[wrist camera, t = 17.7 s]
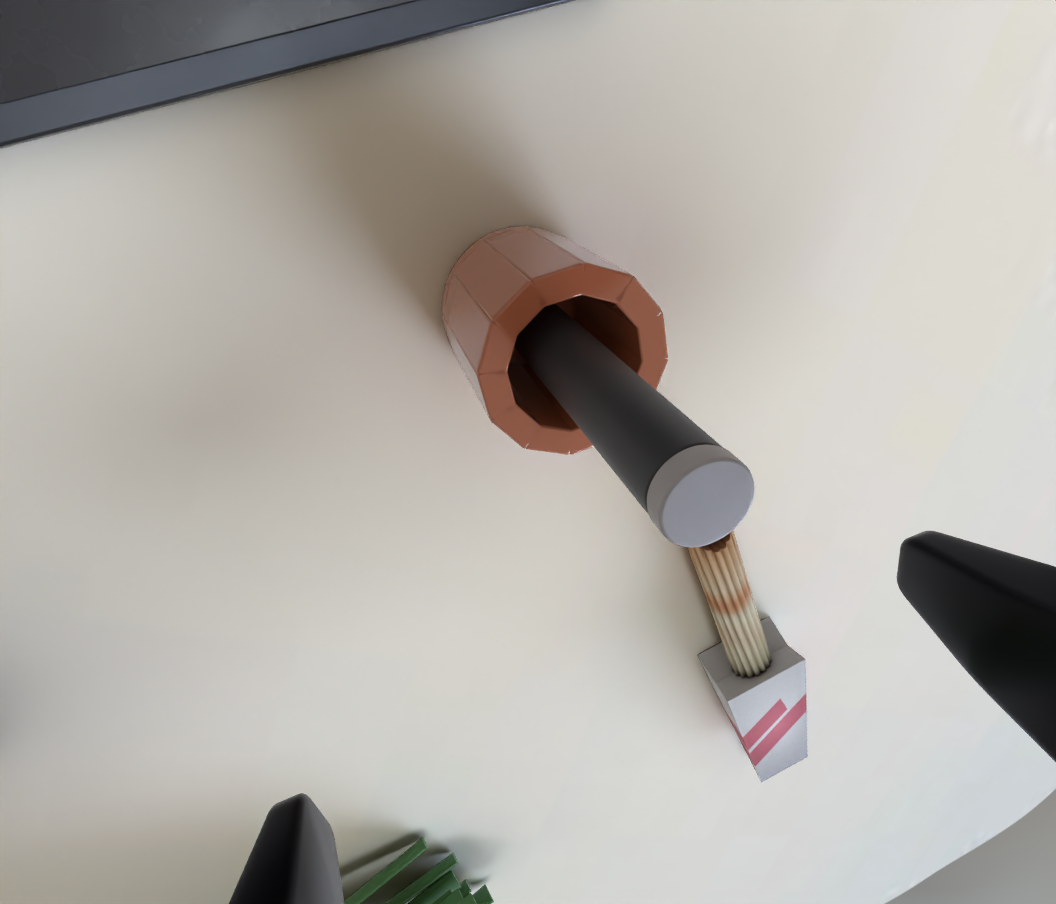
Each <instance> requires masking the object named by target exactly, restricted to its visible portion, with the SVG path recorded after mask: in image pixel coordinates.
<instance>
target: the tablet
mask: <svg viewBox="0 0 1056 904" xmlns="http://www.w3.org/2000/svg"><path fill="white" fill-rule="evenodd" d="M570 1H574V0H0V148H4V147H7V146H11V145H15V144H19V143H23V142H27V141H31V140H35V139H38V138H42V137H46V136H50V135H54V134H58V133H62V132H66V131H70V130H73V129H77V128H81V127H85V126H89V125H93V124H97V123H101V122H104V121H108V120H112V119H116V118H120V117H124V116H128V115H132V114H136V113H139V112H143V111H147V110H151V109H155V108H159V107H163V106H167V105H170V104H174V103H178V102H182V101H186V100H190V99H194V98H198V97H202V96H205V95H209V94H213V93H217V92H221V91H225V90H229V89H233V88H237V87H240V86H244V85H248V84H252V83H256V82H260V81H264V80H268V79H271V78H275V77H279V76H283V75H287V74H291V73H295V72H299V71H303V70H306V69H310V68H314V67H318V66H322V65H326V64H330V63H334V62H337V61H341V60H345V59H349V58H353V57H357V56H361V55H365V54H369V53H372V52H376V51H380V50H384V49H388V48H392V47H396V46H400V45H403V44H407V43H411V42H415V41H419V40H423V39H427V38H431V37H435V36H438V35H442V34H446V33H450V32H454V31H458V30H462V29H466V28H469V27H473V26H477V25H481V24H485V23H489V22H493V21H497V20H501V19H504V18H508V17H512V16H516V15H520V14H524V13H528V12H532V11H536V10H539V9H543V8H547V7H551V6H555V5H559V4H563V3H567V2H570Z"/></svg>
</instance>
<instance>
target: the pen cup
mask: <svg viewBox="0 0 1056 904" xmlns="http://www.w3.org/2000/svg"><path fill="white" fill-rule="evenodd" d="M552 304H557V305H558V306H559V307H560V308H561V309H562V310H564V311H565V312H566V313H567V314H568V315H569V316H571V317H572V318H573V319H574V320H575V321H576V322H578V323H579V324H580V325H581V326H582V327H583V328H584V329H586V330H587V331H588V332H589V333H590V334H591V335H593V336H594V337H595V338H596V339H597V340H598V341H600V342H601V343H602V344H603V345H604V346H605V347H607V348H608V349H609V350H610V351H611V352H612V353H614V354H615V355H616V356H617V357H618V358H619V359H621V360H622V361H623V362H624V363H625V364H626V365H627V366H629V367H630V368H631V369H632V370H633V371H634V372H636V373H637V374H638V375H639V376H640V377H641V378H643V379H644V380H645V381H646V382H647V383H648V384H650V385H651V386H652V387H653V388H654V389H655V390H656V389H657V386H658V384H659V381H660V379H661V376H662V374H663V371H664V369H665V366H666V364H667V361H668V360H667V358H668V355H667V346H666V337H665V328H664V318H663V313H662V311H661V309H660V307H659V306H658V305H657V304H656V303H655V301H654V300H653V299H652V298H651V296H650V295H649V294H648V293H647V292H646V290H645V289H644V288H643V287H642V285H641V284H640V283H639V282H638V281H637V279H636V278H635V277H634V276H632V275H631V274H629V273H627V272H626V271H624V270H622V269H620V268H619V267H617V266H615V265H613V264H612V263H610V262H608V261H606V260H604V259H603V258H601V257H599V256H597V255H596V254H594V253H592V252H590V251H589V250H587V249H585V248H583V247H582V246H580V245H578V244H576V243H574V242H573V241H571V240H569V239H567V238H566V237H563V236H560V235H556V234H553V233H552V232H549V231H546V230H544V229H541V228H536V227H529V226H516V227H509V228H504V229H500V230H497V231H495V232H492V233H490V234H488V235H486V236H484V237H483V238H481V239H479V240H478V241H477V242H475V243H474V244H473V245H471V246H470V247H469V248H468V249H467V250H466V251H465V252H464V253H463V255H462V256H461V257H460V258H459V259H458V261H457V262H456V264H455V266H454V267H453V269H452V271H451V273H450V275H449V277H448V279H447V282H446V286H445V289H444V294H443V300H442V316H443V323H444V327H445V331H446V334H447V336H448V339H449V341H450V343H451V346H452V349H453V353H454V355H455V357H456V359H457V360H458V362H459V364H460V366H461V368H462V369H463V371H464V373H465V375H466V377H467V379H468V380H469V382H470V384H471V386H472V388H473V390H474V391H475V393H476V395H477V397H478V399H479V400H480V402H481V404H482V406H483V408H484V410H485V411H486V413H487V415H488V417H489V418H490V420H491V422H492V423H494V424H495V425H496V426H497V427H499V428H500V429H501V430H502V431H503V432H505V433H506V434H507V435H508V436H509V437H511V438H512V439H513V440H514V441H515V442H517V443H518V444H519V445H520V446H521V447H523V448H526V449H530V450H538V451H545V452H553V453H560V454H574V453H577V452H580V451H583V450H586V449H588V448H591V447H594V446H593V444H592V443H591V442H590V441H589V439H588V438H587V437H586V436H585V434H584V433H583V432H582V431H581V429H580V428H579V427H578V426H577V424H576V423H575V422H574V421H573V419H572V418H571V417H570V416H569V414H568V413H567V412H566V411H565V409H564V408H563V407H562V406H561V404H560V403H559V402H558V401H557V399H556V398H555V397H554V396H553V395H552V393H551V392H550V391H549V390H548V388H547V387H546V386H545V385H544V383H543V382H542V381H541V380H540V378H539V377H538V376H537V375H536V373H535V372H534V371H533V370H532V368H531V367H530V366H529V365H528V363H527V362H526V361H525V360H524V358H523V357H522V356H521V355H520V353H519V352H518V351H517V350H516V348H515V347H514V345H515V342H516V339H517V335H518V334H519V333H520V332H521V331H522V330H523V329H524V328H525V327H526V326H527V325H528V324H529V322H530V321H531V320H532V319H533V318H534V317H535V316H536V315H537V314H538V313H539V312H540V311H541V310H542V309H543V308H544V307H546V306H549V305H552Z"/></svg>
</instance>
